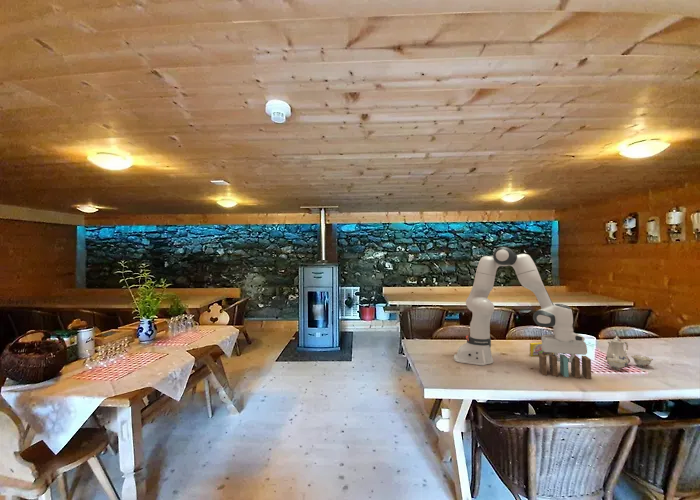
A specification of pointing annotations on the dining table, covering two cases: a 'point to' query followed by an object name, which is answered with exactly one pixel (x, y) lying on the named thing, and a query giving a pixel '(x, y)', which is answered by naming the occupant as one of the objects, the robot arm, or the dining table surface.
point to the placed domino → (564, 365)
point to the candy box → (537, 349)
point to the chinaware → (623, 356)
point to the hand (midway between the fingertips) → (564, 361)
